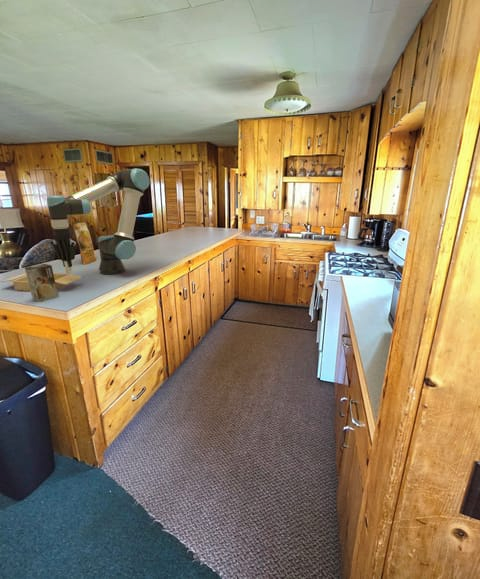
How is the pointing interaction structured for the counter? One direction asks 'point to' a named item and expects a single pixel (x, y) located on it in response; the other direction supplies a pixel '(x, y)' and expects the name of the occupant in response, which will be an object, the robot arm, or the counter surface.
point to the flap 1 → (15, 277)
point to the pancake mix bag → (84, 242)
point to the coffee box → (41, 282)
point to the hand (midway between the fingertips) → (69, 272)
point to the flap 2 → (67, 279)
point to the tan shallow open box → (24, 285)
